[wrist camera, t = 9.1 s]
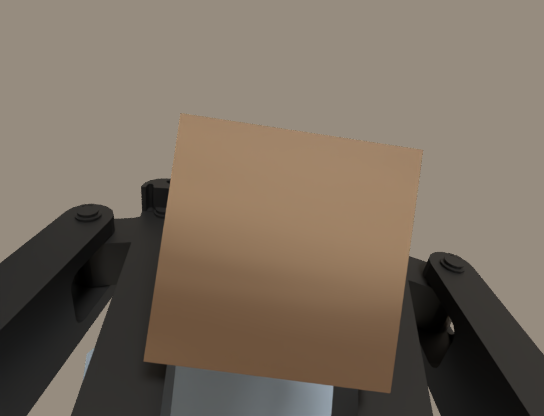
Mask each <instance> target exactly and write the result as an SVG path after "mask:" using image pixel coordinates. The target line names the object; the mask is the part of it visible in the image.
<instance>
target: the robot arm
mask: <svg viewBox="0 0 544 416" xmlns="http://www.w3.org/2000/svg"><path fill="white" fill-rule="evenodd" d="M170 181H171V179H155V180H150V181H148V182H146V183H144V184H143V185H142V186H141V194H142V213H141V216H140V217H136V218H124V219H114V215H113V211H112V210H111V209H109V208H108V207H106V206H103V205H96V204H85V205H80V206H77V207H73V208H71V209H69V210H68V211H66V212H65V213H63V214H62V215H61V216H60V217H58V218H57V219H56V220H54V221H53V222H52V223H51V224H49V225H48V226H47V227H46V228H44V229H43V230H42V231H40V232H39V233H38V234H37V235H36V236H34V237H33V238H32V239H30V240H29V241H28V242H26V243H25V244H24V245H23V246H21V247H20V248H19V249H18V250H16V251H15V252H14V253H13V254H11V255H10V256H9V257H7V258H6V259H5V260H4V261H2V262H1V263H0V416H27V414H28V413H29V412H30V410H31V409H32V407H33V406H34V405H35V403H36V402H37V401H38V399H39V397H40V396H41V395H42V394H43V392H44V391H45V389H46V388H47V387H48V385H49V384H50V382H51V381H52V380H53V378H54V377H55V375H56V374H57V373H58V371H59V370H60V369H61V367H62V366H63V364H64V363H65V362H66V360H67V359H68V357H69V356H70V354H71V353H72V352H73V350H74V349H75V348H76V346H77V344H78V343H79V342H80V341H81V339H82V338H83V336H84V335H85V334H86V332H87V331H88V329H89V328H90V327H91V325H92V324H93V323H94V321H95V320H96V318H97V317H98V316H99V314H100V312H101V311H102V310H103V309H104V307H105V306H106V305H107V303H108V302H109V300H110V299H111V298H112V299H111V302H110V305H109V308H108V311H107V314H106V317H105V319H104V322H103V325H102V328H101V331H100V334H99V337H98V339H97V342H96V346H95V348H94V351H93V354H92V357H91V360H90V362H89V365H88V368H87V371H86V374H85V377H84V380H83V383H82V385H81V388H80V391H79V394H78V397H77V400H76V403H75V406H74V408H73V412H72V414H71V416H170V414H171V405H172V396H173V387H174V378H175V368H176V366H175V365H167V364H159V363H152V362H144V354H145V347H146V341H147V334H148V327H149V321H150V314H151V307H152V301H153V294H154V287H155V281H156V274H157V267H158V261H159V254H160V247H161V241H162V234H163V227H164V221H165V214H166V207H167V201H168V194H169V187H170ZM451 322H452V323H453V325H454V332H453V330H452V329H451V327H450V324H451ZM428 387H429V389H430V392H431V394H432V396H433V399H434V401H435V403H436V406H437V408H438V410H439V413H440V415H441V416H544V355H543V353H542V352H541V351H540V350H539V349H538V347H537V346H536V345H535V343H534V342H533V341H532V340H531V339H530V337H529V336H528V335H527V334H526V332H525V331H524V330H523V329H522V327H521V326H520V325H519V324H518V322H517V321H516V320H515V319H514V317H513V316H512V315H511V314H510V312H509V311H508V310H507V309H506V307H505V306H504V305H503V304H502V303H501V301H500V300H499V299H498V298H497V296H496V295H495V294H494V293H493V291H492V290H491V289H490V288H489V286H488V285H487V284H486V283H485V282H484V280H483V279H482V278H481V277H480V275H479V274H478V273H477V272H476V271H475V269H474V268H473V267H472V266H471V265H470V264H469V263H468V262H466V261H465V260H463V259H461V257H459V256H455V255H454V254H450V253H444V252H435V253H432V254H431V255H430V257H429V259H428V261H427V262H425V261H422V260H419V259H416V258H413V257H410V256H409V259H408V266H407V274H406V281H405V288H404V296H403V303H402V311H401V318H400V326H399V333H398V341H397V348H396V355H395V363H394V370H393V378H392V385H391V393H384V392H376V391H368V390H361V389H353V388H345V387H337V386H333V398H332V411H331V416H433V413H432V407H431V402H430V396H429V391H428Z"/></svg>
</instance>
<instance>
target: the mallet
mask: <svg viewBox="0 0 544 416" xmlns="http://www.w3.org/2000/svg"><path fill="white" fill-rule="evenodd" d="M422 155H423V150H420V149H414V148H407V147H400V146H394V145H387V144H380V143H374V142H367V141H361V140H354V139H348V138H341V137H334V136H328V135H320V134H315V133H308V132H301V131H295V130H288V129H282V128H275V127H268V126H262V125H255V124H248V123H242V122H235V121H229V120H222V119H216V118H209V117H202V116H195V115H189V114H182V113H181V114H180V121H179V128H178V134H177V141H176V147H175V154H174V161H173V167H172V174H171V181H170V187H169V194H168V201H167V207H166V214H165V221H164V227H163V234H162V241H161V247H160V254H159V261H158V267H157V274H156V281H155V287H154V294H153V301H152V307H151V314H150V321H149V327H148V334H147V341H146V347H145V354H144V362H152V363H159V364H167V365H175V366H183V367H190V368H198V369H206V370H214V371H221V372H229V373H237V374H245V375H252V376H260V377H268V378H275V379H283V380H291V381H299V382H306V383H314V384H322V385H330V386H337V387H345V388H353V389H361V390H368V391H376V392H384V393H391V385H392V378H393V370H394V363H395V355H396V348H397V341H398V333H399V326H400V318H401V311H402V303H403V296H404V288H405V281H406V274H407V266H408V259H409V251H410V243H411V236H412V229H413V222H414V214H415V206H416V199H417V191H418V184H419V177H420V170H421V162H422Z"/></svg>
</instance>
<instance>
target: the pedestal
mask: <svg viewBox="0 0 544 416" xmlns="http://www.w3.org/2000/svg"><path fill="white" fill-rule="evenodd" d="M93 351H94V349H92V350H91V351H90V352H89V353H87V357H86V364H85V370H84V377H85V374H86V371H87V368H88V365H89V362H90V360H91V357H92V354H93ZM84 377H83V380H84ZM332 398H333V386H330V385H322V384H314V383H306V382H299V381H291V380H283V379H275V378H268V377H260V376H252V375H245V374H237V373H229V372H221V371H214V370H206V369H198V368H190V367H183V366H176V368H175V378H174V387H173V396H172V405H171V414H170V416H331V411H332Z"/></svg>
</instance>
